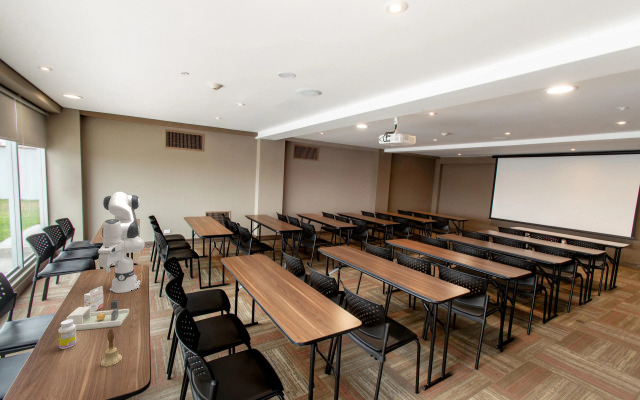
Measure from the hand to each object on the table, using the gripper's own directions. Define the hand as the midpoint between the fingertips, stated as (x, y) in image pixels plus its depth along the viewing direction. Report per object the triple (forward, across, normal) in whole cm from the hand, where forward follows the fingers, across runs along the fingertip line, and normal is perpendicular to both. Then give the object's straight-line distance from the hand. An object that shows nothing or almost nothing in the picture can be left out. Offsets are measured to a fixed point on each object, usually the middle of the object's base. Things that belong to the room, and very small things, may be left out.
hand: (112, 269), depth 162 cm
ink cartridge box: (+30, -14, -18) cm, 38 cm away
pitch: (+31, +2, -7) cm, 32 cm away
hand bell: (+32, +39, +18) cm, 54 cm away
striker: (+30, +1, +1) cm, 30 cm away
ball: (+28, +2, -6) cm, 29 cm away
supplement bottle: (+32, +24, -9) cm, 41 cm away
